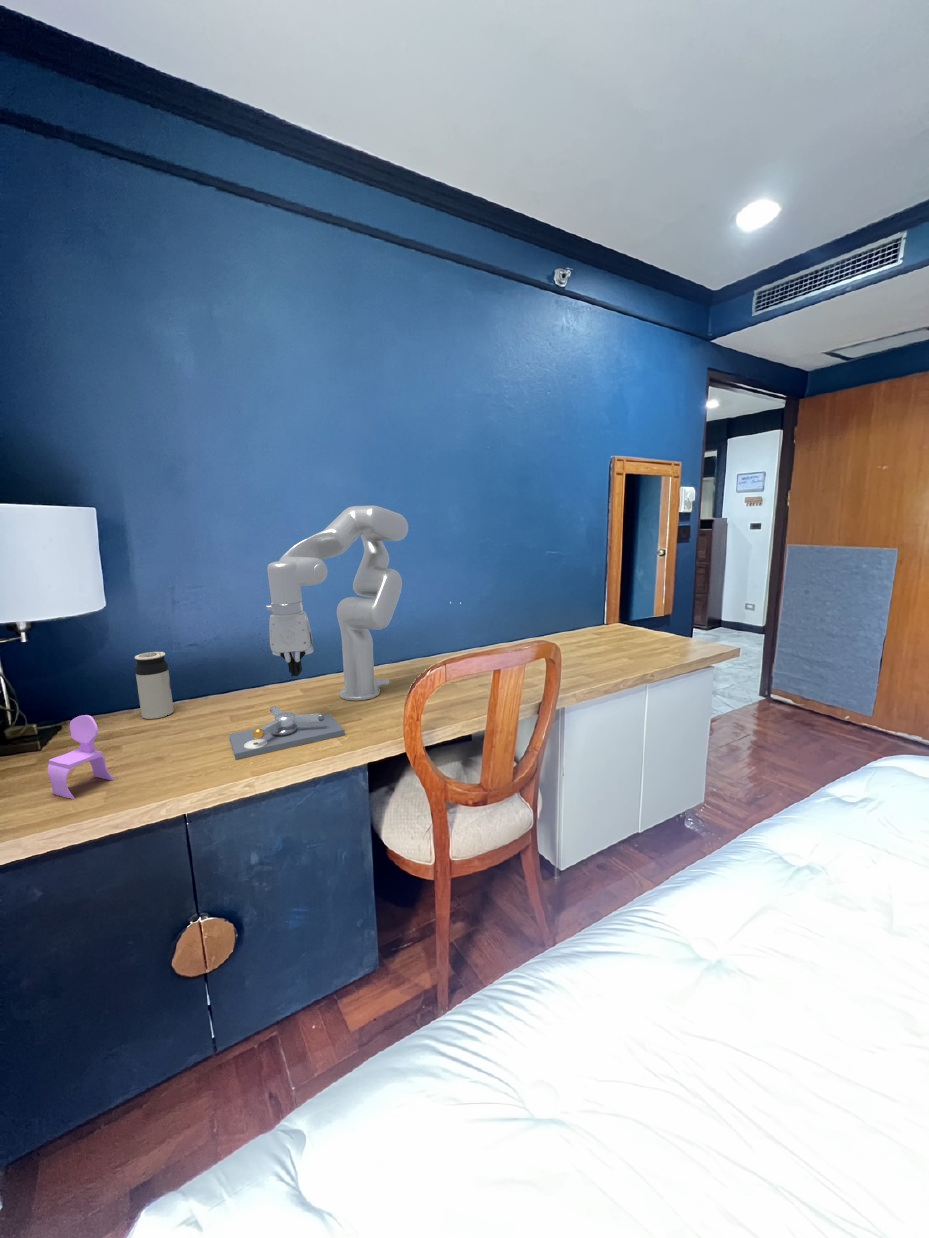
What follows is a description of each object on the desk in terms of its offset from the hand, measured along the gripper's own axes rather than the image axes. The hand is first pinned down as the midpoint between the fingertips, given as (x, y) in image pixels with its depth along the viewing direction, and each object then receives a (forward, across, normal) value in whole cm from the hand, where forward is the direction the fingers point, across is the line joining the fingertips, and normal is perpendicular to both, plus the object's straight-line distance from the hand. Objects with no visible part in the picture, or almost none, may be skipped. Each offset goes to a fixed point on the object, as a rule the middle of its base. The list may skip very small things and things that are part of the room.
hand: (296, 674), depth 134 cm
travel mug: (+14, -44, +9) cm, 47 cm away
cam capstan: (+12, -3, -11) cm, 16 cm away
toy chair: (+12, -37, -32) cm, 50 cm away
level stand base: (+14, -1, -10) cm, 17 cm away
